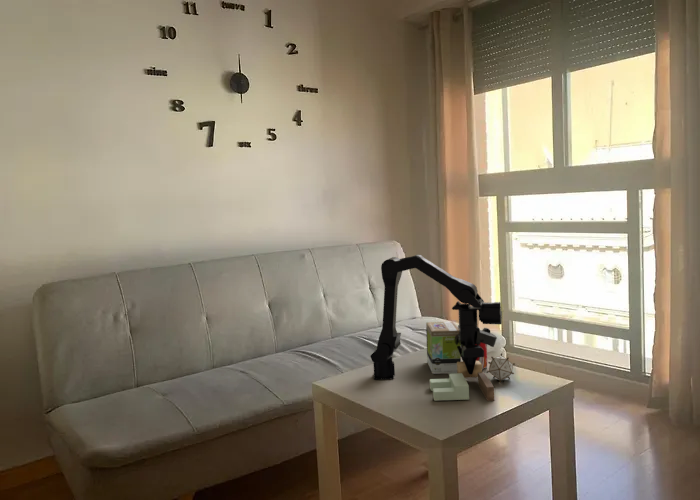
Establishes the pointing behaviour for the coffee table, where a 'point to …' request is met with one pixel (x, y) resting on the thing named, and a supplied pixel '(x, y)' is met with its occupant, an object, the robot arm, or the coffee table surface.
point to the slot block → (450, 388)
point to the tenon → (462, 369)
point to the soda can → (484, 359)
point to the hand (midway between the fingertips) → (469, 372)
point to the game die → (500, 367)
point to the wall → (486, 386)
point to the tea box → (442, 347)
